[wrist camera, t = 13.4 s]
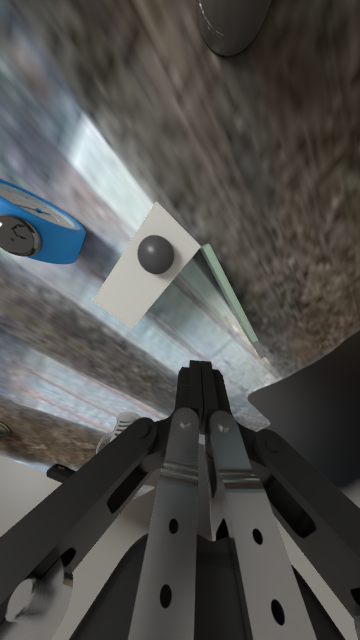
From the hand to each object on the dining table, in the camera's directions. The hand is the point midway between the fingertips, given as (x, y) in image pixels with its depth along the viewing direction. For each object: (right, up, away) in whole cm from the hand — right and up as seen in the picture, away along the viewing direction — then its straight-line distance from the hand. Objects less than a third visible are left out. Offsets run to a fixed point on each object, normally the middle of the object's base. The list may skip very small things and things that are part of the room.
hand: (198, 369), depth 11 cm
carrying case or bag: (-56, -69, +64) cm, 109 cm away
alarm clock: (-24, +22, +20) cm, 38 cm away
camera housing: (-7, +15, +22) cm, 27 cm away
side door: (+9, +9, +23) cm, 26 cm away
